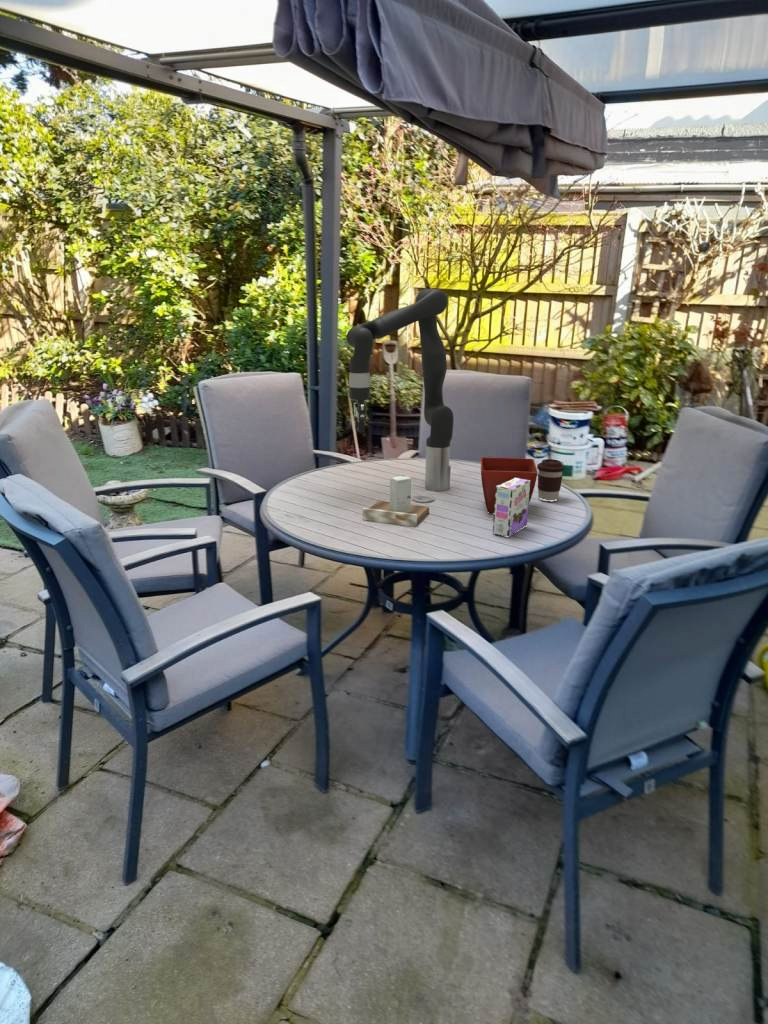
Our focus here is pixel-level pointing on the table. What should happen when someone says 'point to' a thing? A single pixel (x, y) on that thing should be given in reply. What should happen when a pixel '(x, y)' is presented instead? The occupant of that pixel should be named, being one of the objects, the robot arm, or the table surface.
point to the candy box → (511, 506)
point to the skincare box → (400, 494)
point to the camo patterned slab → (395, 514)
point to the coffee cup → (549, 478)
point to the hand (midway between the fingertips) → (359, 430)
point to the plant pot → (505, 475)
